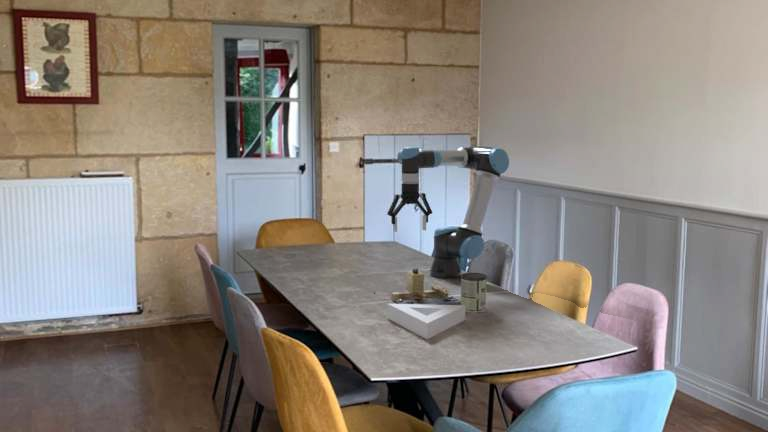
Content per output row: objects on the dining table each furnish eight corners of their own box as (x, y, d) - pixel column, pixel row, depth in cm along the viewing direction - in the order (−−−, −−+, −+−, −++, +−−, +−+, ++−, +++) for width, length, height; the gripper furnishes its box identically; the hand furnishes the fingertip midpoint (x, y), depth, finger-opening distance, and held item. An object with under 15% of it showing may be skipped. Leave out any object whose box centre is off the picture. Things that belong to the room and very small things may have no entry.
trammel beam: (443, 295, 338) (443, 285, 338) (456, 303, 325) (456, 293, 324) (390, 298, 331) (390, 288, 331) (401, 307, 318) (401, 296, 317)
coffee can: (463, 305, 322) (464, 271, 320) (488, 307, 319) (489, 273, 317) (457, 311, 313) (458, 276, 311) (482, 313, 309) (483, 278, 307)
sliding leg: (417, 292, 335) (418, 267, 334) (430, 301, 321) (430, 274, 319) (406, 293, 334) (407, 267, 332) (418, 301, 319) (419, 275, 318)
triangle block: (426, 340, 276) (427, 323, 275) (365, 328, 289) (365, 312, 288) (465, 321, 301) (465, 305, 300) (406, 311, 314) (407, 295, 313)
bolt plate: (452, 300, 330) (452, 295, 330) (461, 306, 321) (461, 301, 320) (395, 304, 323) (395, 299, 322) (403, 310, 313) (403, 305, 313)
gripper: (433, 180, 348) (432, 227, 351) (380, 182, 340) (380, 230, 343) (440, 182, 341) (439, 230, 344) (385, 184, 333) (385, 233, 336)
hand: (409, 230), depth 344 cm, fingers open, 13 cm apart
